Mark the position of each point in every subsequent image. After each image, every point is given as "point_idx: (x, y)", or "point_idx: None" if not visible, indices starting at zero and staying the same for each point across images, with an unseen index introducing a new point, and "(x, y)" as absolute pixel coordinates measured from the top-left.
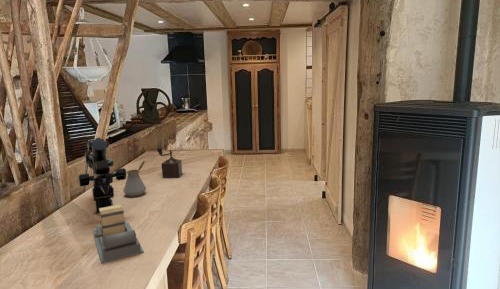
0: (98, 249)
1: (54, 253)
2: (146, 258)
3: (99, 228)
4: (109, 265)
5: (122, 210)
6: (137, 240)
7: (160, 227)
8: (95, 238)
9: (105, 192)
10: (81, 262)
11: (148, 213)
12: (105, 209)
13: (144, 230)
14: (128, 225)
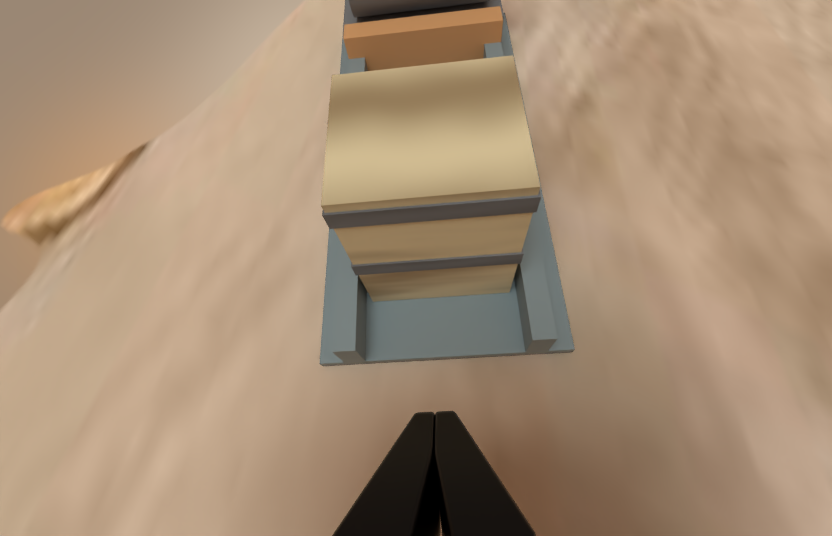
0: None
1: (750, 158)
2: None
3: (525, 244)
4: None
5: (339, 79)
6: (346, 19)
7: (186, 222)
8: (544, 216)
9: (448, 417)
10: (584, 47)
11: (120, 530)
12: (474, 132)
13: (271, 223)
14: (332, 316)
